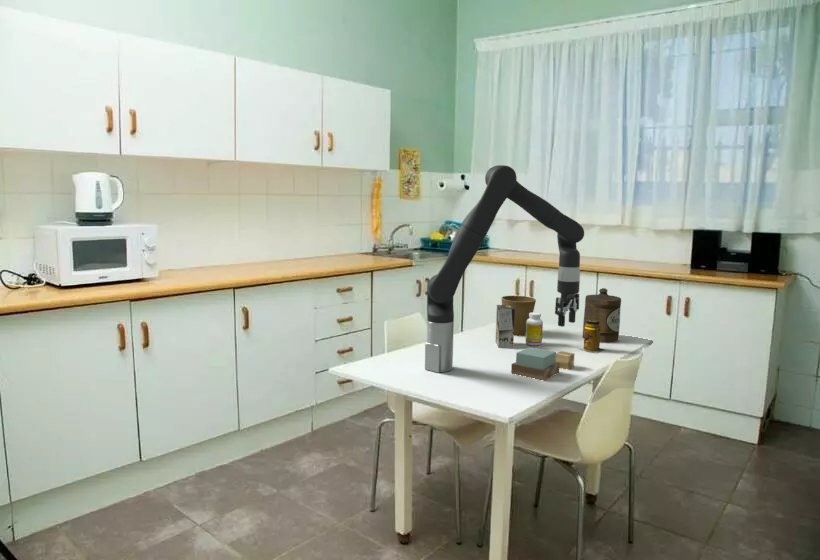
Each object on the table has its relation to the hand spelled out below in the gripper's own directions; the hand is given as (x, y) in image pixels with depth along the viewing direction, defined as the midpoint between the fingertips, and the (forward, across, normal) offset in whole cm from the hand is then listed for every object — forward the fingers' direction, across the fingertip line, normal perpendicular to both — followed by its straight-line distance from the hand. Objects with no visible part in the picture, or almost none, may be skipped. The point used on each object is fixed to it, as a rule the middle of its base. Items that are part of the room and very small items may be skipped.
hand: (566, 324), depth 212 cm
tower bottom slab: (+16, -14, +4) cm, 22 cm away
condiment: (+16, +30, +2) cm, 34 cm away
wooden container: (+16, +50, +7) cm, 53 cm away
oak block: (+16, 0, 0) cm, 16 cm away
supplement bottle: (+16, +22, +24) cm, 36 cm away
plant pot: (+16, +33, +38) cm, 53 cm away
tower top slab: (+12, -14, +4) cm, 19 cm away
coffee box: (+16, +12, +32) cm, 38 cm away
